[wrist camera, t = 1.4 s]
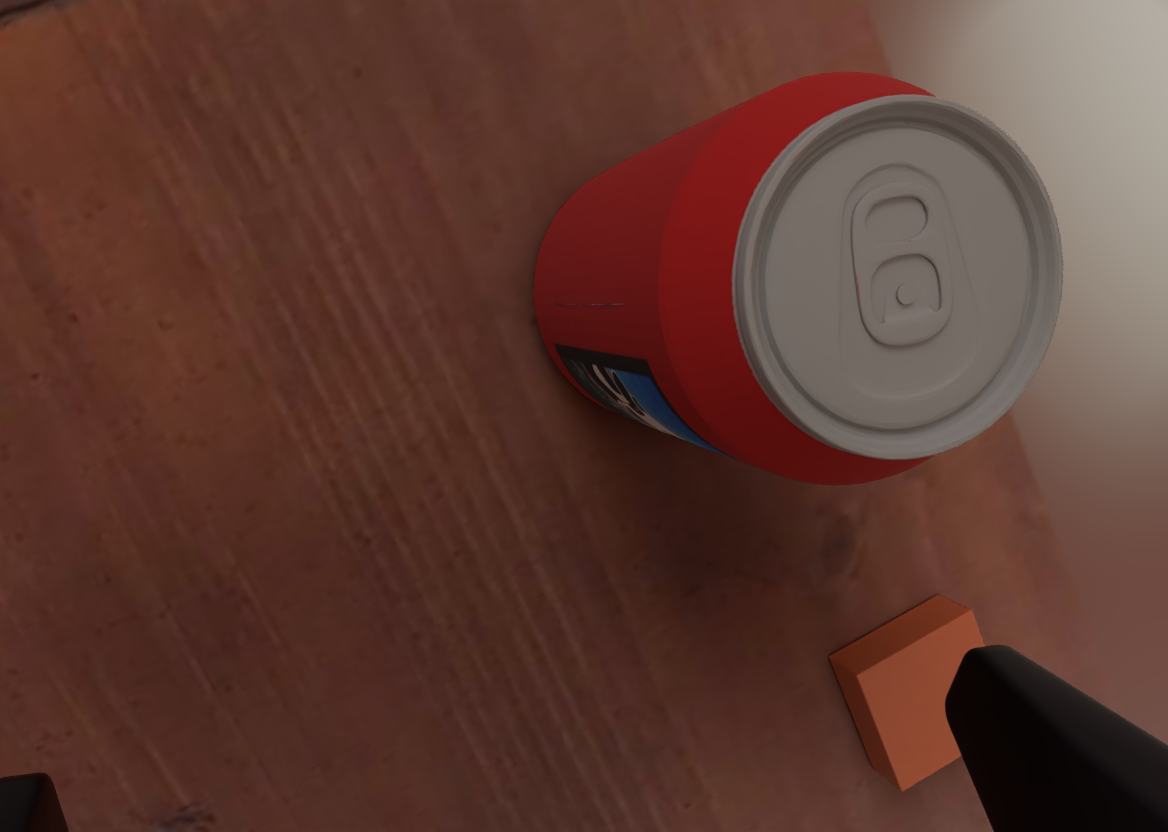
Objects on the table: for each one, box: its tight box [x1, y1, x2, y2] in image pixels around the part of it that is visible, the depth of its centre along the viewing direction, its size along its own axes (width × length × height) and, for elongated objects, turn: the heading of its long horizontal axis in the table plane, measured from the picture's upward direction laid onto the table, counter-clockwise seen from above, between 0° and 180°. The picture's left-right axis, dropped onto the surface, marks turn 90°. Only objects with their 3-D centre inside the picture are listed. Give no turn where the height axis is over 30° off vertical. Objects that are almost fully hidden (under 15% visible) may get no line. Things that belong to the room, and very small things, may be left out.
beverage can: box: [534, 72, 1063, 485], centre depth 20 cm, size 7×7×12 cm
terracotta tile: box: [829, 595, 985, 792], centre depth 28 cm, size 4×4×2 cm
